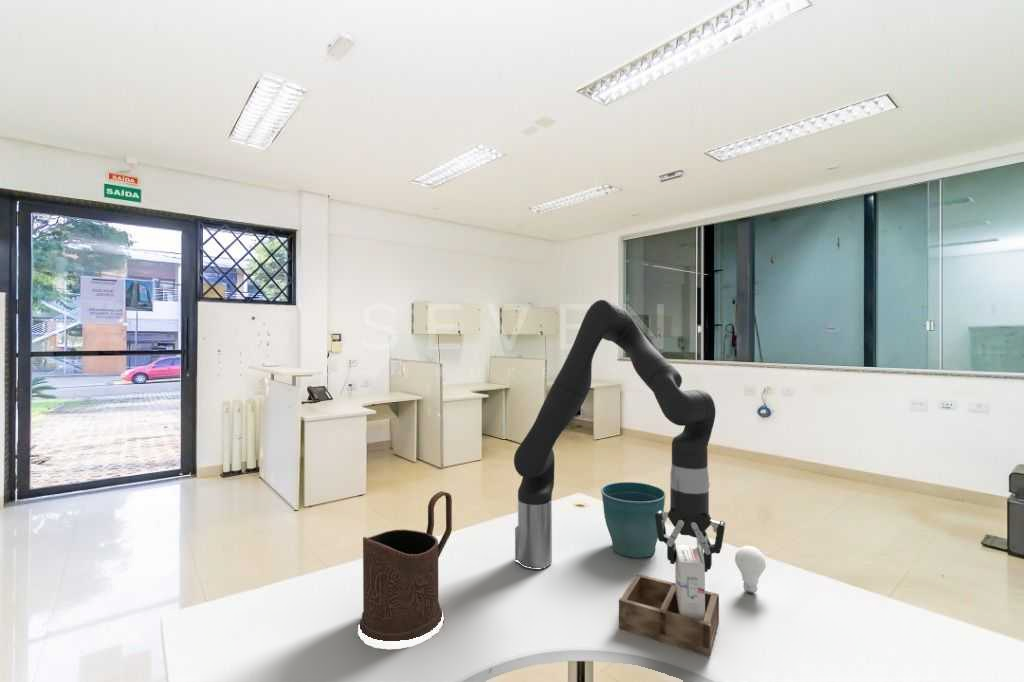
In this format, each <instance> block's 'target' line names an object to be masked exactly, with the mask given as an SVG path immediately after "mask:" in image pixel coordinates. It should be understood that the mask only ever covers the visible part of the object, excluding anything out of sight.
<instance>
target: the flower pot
mask: <svg viewBox="0 0 1024 682" xmlns="http://www.w3.org/2000/svg"><path fill="white" fill-rule="evenodd" d="M600 491H601V496H602V497H601V499H602V506H603V515H604V519H605V525H606V528H607V529H608V533H609V536H610V539H611V542H612V549H613V550H614V552H616V553H617V554H619V555H621V556H624V557H629V558H634V559H636V558H637V559H638V558H639V559H641V558H647V557H650V556H651V557H652V555H654V554H655V552H656V547H657V542H658V534H657V527H656V520H655V514H656V513H657V511H658V510H662V511H663V512H665V501H666V497H667V494H666V491H665V490H663V489H662V488H660V487H658V486H655V485H652V484H649V483H643V482H635V481H632V482H631V481H624V482H623V481H621V482H612V483H609V484H606V485H603V486H602V488H601V489H600Z"/></svg>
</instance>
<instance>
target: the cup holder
mask: <svg viewBox="0 0 1024 682" xmlns="http://www.w3.org/2000/svg"><path fill="white" fill-rule="evenodd" d="M444 496H445V531H444V532H443V535H442V537H441V539H440V541H438V538H437V537H435V536H434V535H433V534H434V527H435V506H436V504H437V502H438V500H439V499H441V498H442V497H444ZM452 500H453V498H452V495H451V493H449V492H446V491H439V492H437V493H435V494H434V495H433V496H432V497H431V498H430V500H429V502H428V506H427V527H426V532H423V531H418V530H414V529H413V530H411V529H392V530H387V531H383V532H381V533H378V534H375V535H372V536H368V537H367V536H363V537H362V571H363V572H362V574H363V576H362V578H363V579H362V581H363V582H362V583H363V584H362V587H363V591H362V595H363V596H362V598H363V600H362V601H363V604H362V605H363V609H362V610H363V611H362V612H361V618H362V619H361V618H360V619H359V620H360V621H359V622H360V629H361V630H362V633H364V634H365V635H367V636H368V637H371V638H373V639H377V640H383V641H400V640H409V639H413V638H416V637H420V636H422V635H424V634H426V633H428V632H430V631H431V630H433V628H435V627H436V626H437V625H438V623H439V622H440V621H441V617H442V611H443V610H442V608H441V605H440V601H439V558H440V556H441V553H442V552H443V550H444V547H445V546H446V544H447V542H448V540H449V538H450V536H451V533H452V530H453V520H452V519H453V518H452V517H453V512H452V511H453V501H452ZM441 610H442V611H441Z"/></svg>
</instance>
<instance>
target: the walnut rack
mask: <svg viewBox="0 0 1024 682" xmlns="http://www.w3.org/2000/svg"><path fill="white" fill-rule="evenodd" d="M719 623H720V594H719V593H716V592H713V591H712V592H711V591H707V590H705V617H704V621H702V620H698V619H694V618H691V617H687V616H684V615H680V613H679V609H678V605H677V601H676V593H675V582H671V581H667V580H662V579H660V578H655V577H652V576H648V575H643V574H639V573H635V574H634V578H632V581H631V582H630V583H629V585H628V586H627V588H626V589H625V592H623V594H622V596H621V597H620V598H619V599H618V629H620V630H623V631H626V632H629V633H633V634H635V635H639V636H641V637H646V638H648V639H652V640H655V641H658V642H661V643H664V644H667V645H670V646H674V647H677V648H681V649H684V650H687V651H690V652H693V653H696V654H699V655H703V656H706V657H709V658H711V655H712V653H713V647H714V643H715V641H716V636H717V631H718V627H719Z"/></svg>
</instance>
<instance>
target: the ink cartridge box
mask: <svg viewBox="0 0 1024 682" xmlns="http://www.w3.org/2000/svg"><path fill="white" fill-rule="evenodd" d="M695 539H696V545H695V546H693V545H684V544H683V545H682V544H676V561H675V564H674V565H675V570H674V571H675V572H674V573H675V575H674V576H675V582H674V583H675V593H676V601H677V605H678V609H679V613H680V615H684V616H687V617H691V618H694V619H698V620H702V621H704V617H705V591H706V575H705V574H706V572H705V564H704V554H703V553H704V550H703V547H702V545H701V544H700V543H699V541H698V538H697V537H696V538H695Z"/></svg>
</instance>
